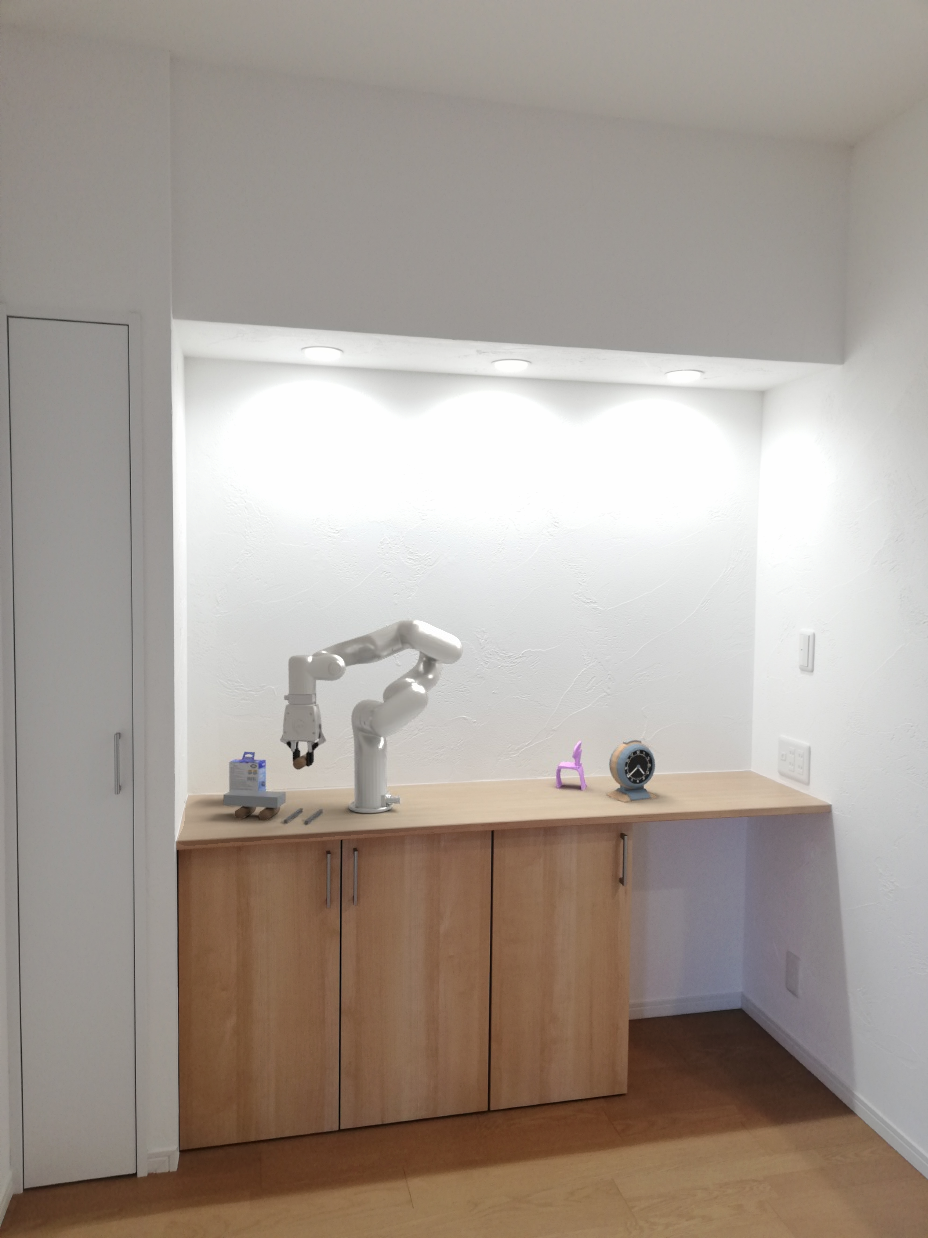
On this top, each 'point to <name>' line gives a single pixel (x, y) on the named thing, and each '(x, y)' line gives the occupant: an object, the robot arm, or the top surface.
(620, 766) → the alarm clock
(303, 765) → the roller
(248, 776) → the ink cartridge box
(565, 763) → the toy chair
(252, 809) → the roller
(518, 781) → the top surface
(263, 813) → the roller
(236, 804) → the slab
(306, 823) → the bar
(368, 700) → the robot arm
